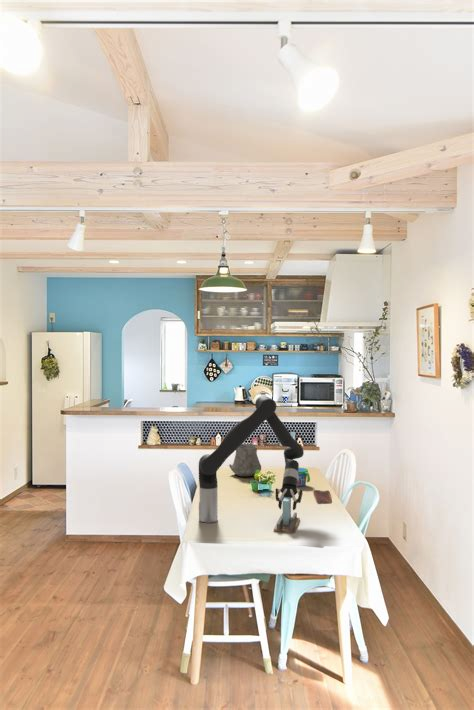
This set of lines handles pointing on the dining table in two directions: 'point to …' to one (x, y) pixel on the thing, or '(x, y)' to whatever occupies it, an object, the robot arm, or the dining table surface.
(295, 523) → the track board
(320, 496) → the wooden tablet
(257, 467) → the vessel
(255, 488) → the green potted plant
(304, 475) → the snack cup
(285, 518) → the door panel
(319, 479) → the dining table surface
